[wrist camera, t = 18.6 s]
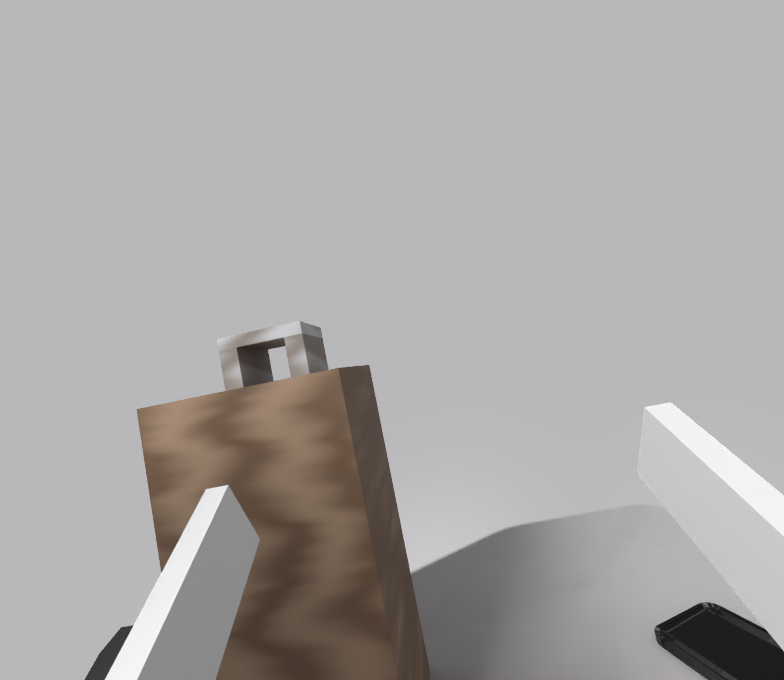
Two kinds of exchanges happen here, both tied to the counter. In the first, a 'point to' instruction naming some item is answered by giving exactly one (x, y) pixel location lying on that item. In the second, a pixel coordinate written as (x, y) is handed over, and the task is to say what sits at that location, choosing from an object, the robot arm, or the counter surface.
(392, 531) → the stand
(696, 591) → the counter surface
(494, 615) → the counter surface
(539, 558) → the counter surface
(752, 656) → the phone
